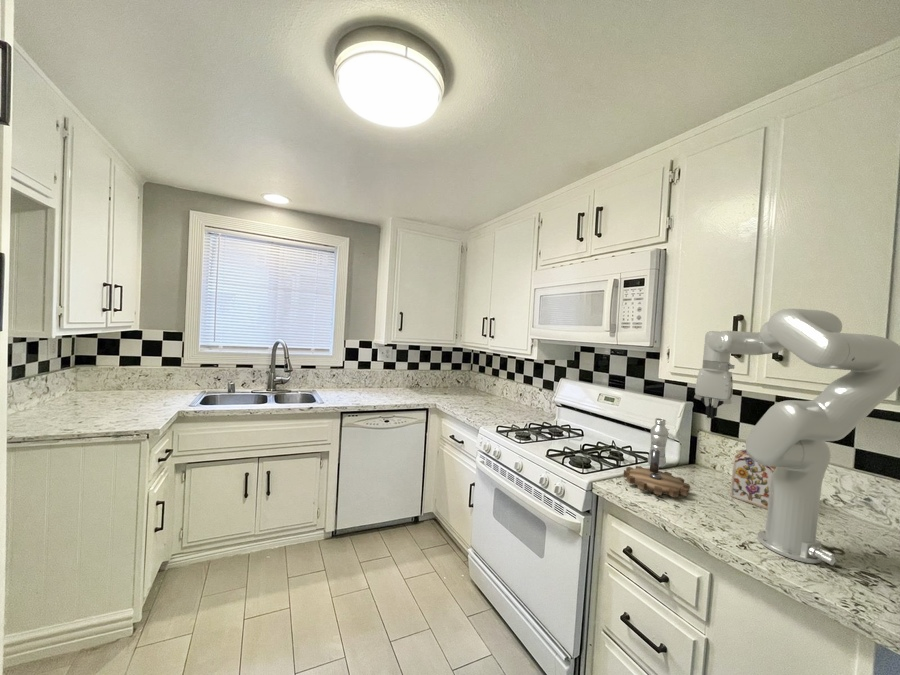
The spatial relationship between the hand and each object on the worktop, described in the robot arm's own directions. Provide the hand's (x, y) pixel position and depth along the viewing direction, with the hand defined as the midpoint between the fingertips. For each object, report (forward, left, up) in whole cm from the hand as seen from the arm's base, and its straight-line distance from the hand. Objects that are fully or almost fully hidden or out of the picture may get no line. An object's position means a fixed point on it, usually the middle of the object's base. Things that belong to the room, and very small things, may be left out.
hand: (710, 417), depth 125 cm
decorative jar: (-8, -14, -27) cm, 32 cm away
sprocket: (+7, +15, -26) cm, 30 cm away
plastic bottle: (+23, -4, -27) cm, 36 cm away
